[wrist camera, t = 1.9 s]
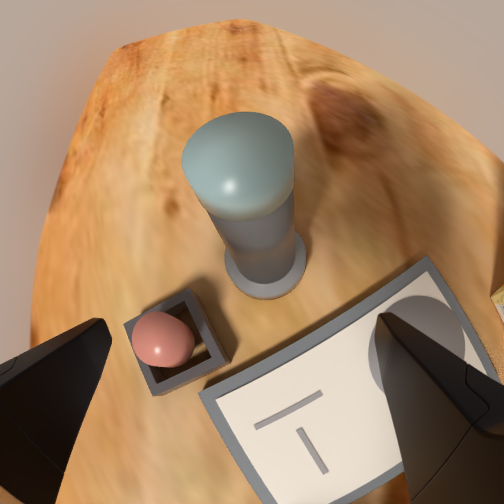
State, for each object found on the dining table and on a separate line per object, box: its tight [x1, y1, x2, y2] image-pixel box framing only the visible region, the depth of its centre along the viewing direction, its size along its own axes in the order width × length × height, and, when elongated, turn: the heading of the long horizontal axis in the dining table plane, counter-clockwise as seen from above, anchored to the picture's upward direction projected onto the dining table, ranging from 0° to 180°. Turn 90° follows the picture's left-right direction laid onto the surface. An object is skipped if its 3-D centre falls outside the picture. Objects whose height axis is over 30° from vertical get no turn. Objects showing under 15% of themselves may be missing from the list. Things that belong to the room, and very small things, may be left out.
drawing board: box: [198, 255, 501, 504], centre depth 18 cm, size 20×13×1 cm, turn 118°
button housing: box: [124, 288, 231, 396], centre depth 21 cm, size 6×6×2 cm
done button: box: [132, 311, 195, 368], centre depth 19 cm, size 4×4×3 cm
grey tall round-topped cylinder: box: [182, 112, 306, 300], centre depth 18 cm, size 6×6×13 cm
